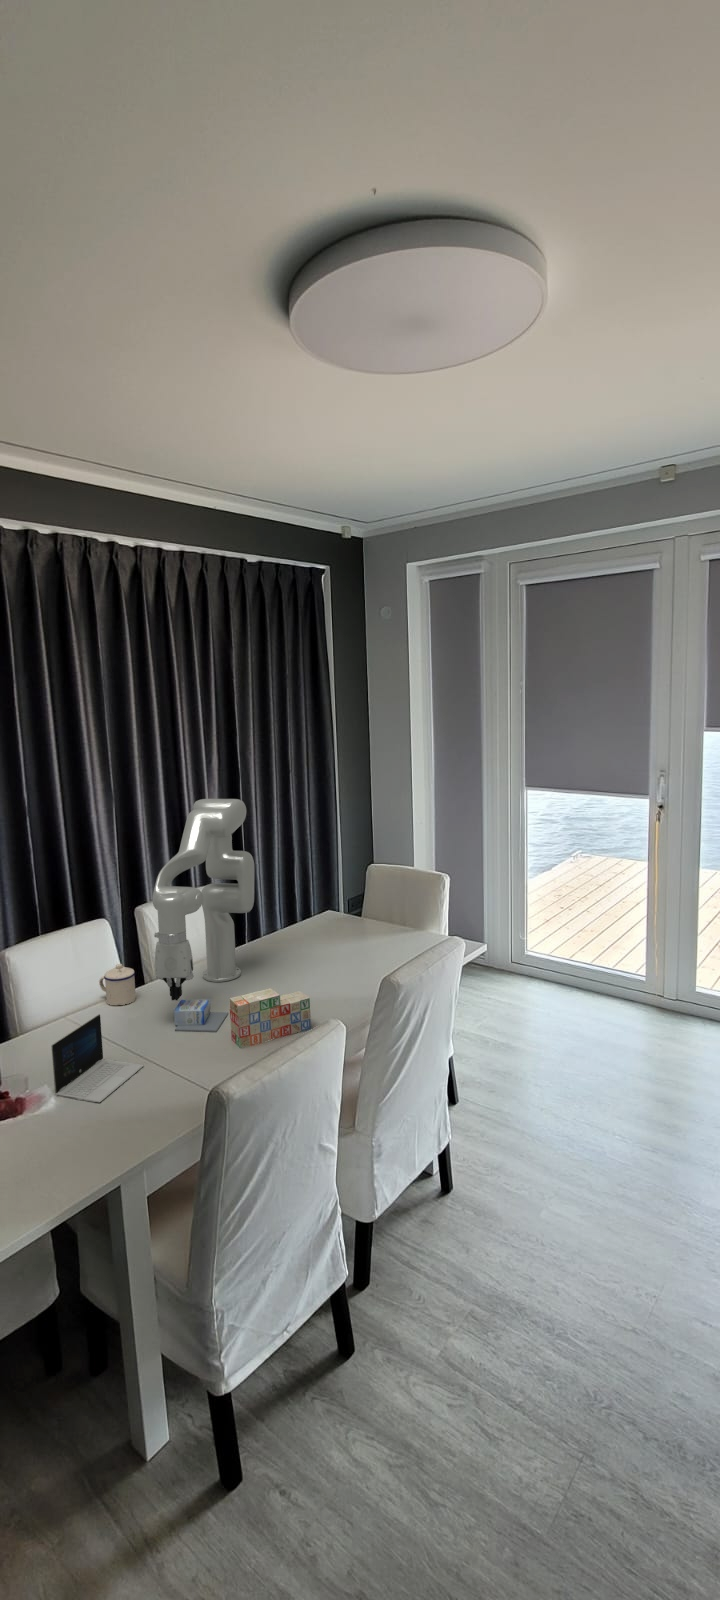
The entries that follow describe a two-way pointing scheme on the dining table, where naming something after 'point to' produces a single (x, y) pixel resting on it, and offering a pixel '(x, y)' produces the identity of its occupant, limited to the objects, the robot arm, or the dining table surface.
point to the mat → (206, 1023)
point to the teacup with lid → (119, 985)
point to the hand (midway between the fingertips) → (176, 998)
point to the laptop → (87, 1065)
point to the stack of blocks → (267, 1016)
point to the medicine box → (192, 1012)
